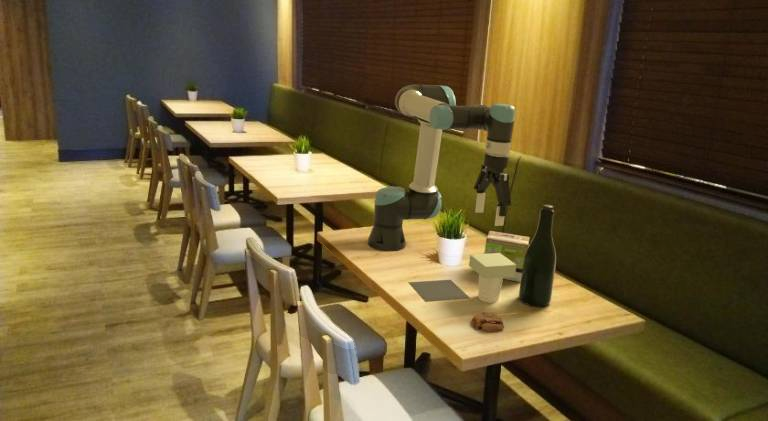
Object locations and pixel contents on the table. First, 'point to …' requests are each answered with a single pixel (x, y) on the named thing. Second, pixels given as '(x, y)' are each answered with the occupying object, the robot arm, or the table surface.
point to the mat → (438, 290)
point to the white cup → (489, 289)
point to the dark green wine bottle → (539, 263)
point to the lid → (492, 265)
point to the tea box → (508, 249)
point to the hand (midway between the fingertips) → (488, 218)
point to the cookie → (488, 322)
